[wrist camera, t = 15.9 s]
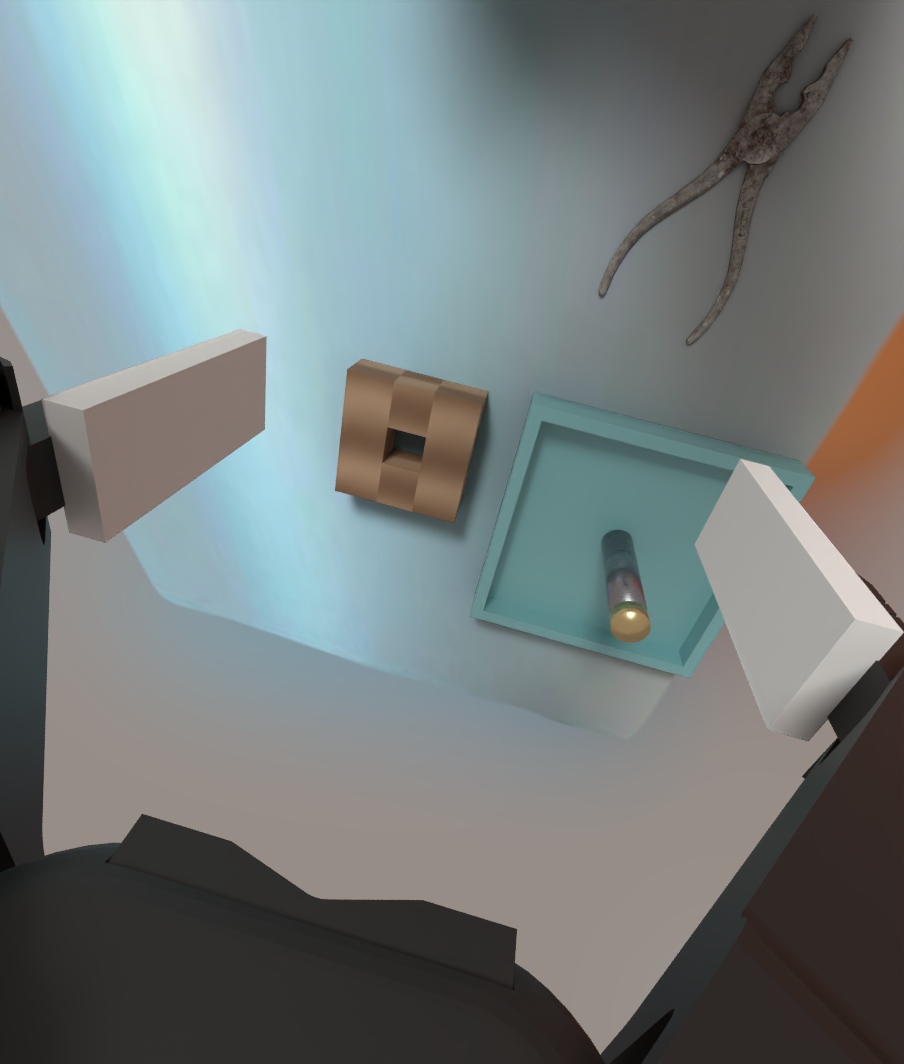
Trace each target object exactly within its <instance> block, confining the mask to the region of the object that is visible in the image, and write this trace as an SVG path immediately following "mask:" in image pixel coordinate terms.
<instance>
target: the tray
mask: <svg viewBox="0 0 904 1064" xmlns="http://www.w3.org/2000/svg"><path fill="white" fill-rule="evenodd" d="M740 459H743V460H747V461H751V462H755V463H759V464H763V465H766V466H769V467H770V468H771V469H772V470H773V472H774V473H775V474H776V475H777V476H778V478H779V479H780V480H781V481H782V483H783V484H784V485H785V486H786V488H787V489H788V490H789V491H790V492H791V494H792V495H793V496H794V497H795V499H796V500H797V501H798V502H799V503H800V502H801V500H802V499H803V497H804V496H805V494H806V492H807V491H808V489H809V488H810V486H811V484H812V483H813V481H814V480H815V476H814V475H813V474H811V472H810V471H809V470H808V469H807V468H806V467H805V466H804V465H803V464H802V463H801V462H800V461H797V460H793V459H789V458H785V457H782V456H778V455H774V454H770V453H766V452H762V451H758V450H755V449H751V448H747V447H743V446H739V445H735V444H732V443H728V442H724V441H720V440H716V439H712V438H708V437H705V436H701V435H697V434H693V433H689V432H685V431H682V430H678V429H674V428H670V427H666V426H662V425H658V424H655V423H651V422H647V421H643V420H639V419H635V418H632V417H628V416H624V415H620V414H616V413H612V412H608V411H605V410H601V409H597V408H593V407H589V406H585V405H582V404H578V403H574V402H570V401H566V400H562V399H558V398H555V397H551V396H547V395H543V394H539V393H535V392H534V394H533V397H532V401H531V404H530V408H529V411H528V415H527V418H526V421H525V425H524V428H523V432H522V435H521V439H520V442H519V445H518V449H517V452H516V456H515V459H514V463H513V466H512V469H511V473H510V476H509V480H508V483H507V487H506V490H505V493H504V497H503V500H502V504H501V507H500V510H499V514H498V517H497V521H496V524H495V528H494V531H493V534H492V538H491V541H490V545H489V548H488V552H487V555H486V558H485V562H484V565H483V569H482V572H481V576H480V579H479V582H478V586H477V589H476V593H475V596H474V600H473V604H472V609H471V613H470V616H471V617H474V618H478V619H481V620H485V621H488V622H492V623H495V624H499V625H502V626H506V627H510V628H513V629H517V630H520V631H524V632H527V633H531V634H534V635H538V636H542V637H545V638H549V639H552V640H556V641H559V642H563V643H566V644H570V645H573V646H577V647H581V648H584V649H588V650H591V651H595V652H598V653H602V654H605V655H609V656H613V657H616V658H620V659H623V660H627V661H630V662H634V663H637V664H641V665H644V666H648V667H652V668H655V669H659V670H662V671H666V672H669V673H673V674H676V675H680V676H684V677H687V678H690V676H691V675H692V673H693V672H694V670H695V668H696V667H697V665H698V664H699V662H700V661H701V659H702V658H703V656H704V654H705V653H706V651H707V650H708V648H709V646H710V645H711V643H712V642H713V640H714V638H715V637H716V635H717V634H718V632H719V631H720V629H721V627H722V626H723V624H724V623H725V621H724V618H723V616H722V613H721V611H720V608H719V605H718V603H717V600H716V598H715V595H714V593H713V590H712V588H711V585H710V582H709V580H708V577H707V575H706V572H705V570H704V567H703V565H702V562H701V560H700V557H699V554H698V552H697V549H696V547H695V543H696V541H697V539H698V537H699V535H700V533H701V531H702V530H703V528H704V526H705V524H706V522H707V520H708V518H709V516H710V515H711V513H712V511H713V509H714V507H715V505H716V503H717V501H718V500H719V498H720V496H721V494H722V492H723V490H724V488H725V486H726V485H727V483H728V481H729V479H730V477H731V475H732V473H733V471H734V470H735V468H736V466H737V464H738V462H739V460H740ZM612 530H623V531H626V532H627V533H629V534H630V535H631V537H632V539H633V544H634V548H635V553H636V558H637V563H638V568H639V572H640V577H641V582H642V587H643V592H644V596H645V601H646V606H647V611H648V616H649V620H650V625H651V630H650V633H649V635H648V636H647V637H646V638H645V639H643V640H641V641H639V642H634V643H627V642H622V641H620V640H618V639H617V638H615V637H614V636H613V634H612V632H611V628H610V618H609V609H608V600H607V591H606V582H605V573H604V564H603V555H602V546H601V541H602V538H603V537H604V535H605V534H606V533H608V532H610V531H612Z"/></svg>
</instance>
